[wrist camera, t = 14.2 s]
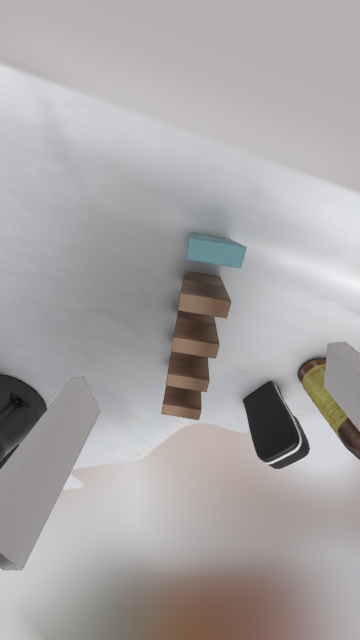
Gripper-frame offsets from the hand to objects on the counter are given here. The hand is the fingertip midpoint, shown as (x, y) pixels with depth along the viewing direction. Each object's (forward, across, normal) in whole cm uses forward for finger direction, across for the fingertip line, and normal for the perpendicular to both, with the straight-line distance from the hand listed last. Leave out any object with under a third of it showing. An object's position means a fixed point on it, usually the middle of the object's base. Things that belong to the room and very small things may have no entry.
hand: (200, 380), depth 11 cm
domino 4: (+20, -2, -9) cm, 22 cm away
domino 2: (+20, +1, 0) cm, 20 cm away
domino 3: (+20, -1, -4) cm, 21 cm away
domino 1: (+20, +3, +5) cm, 21 cm away
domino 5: (+20, -4, -14) cm, 25 cm away
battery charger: (+20, +8, -23) cm, 31 cm away
